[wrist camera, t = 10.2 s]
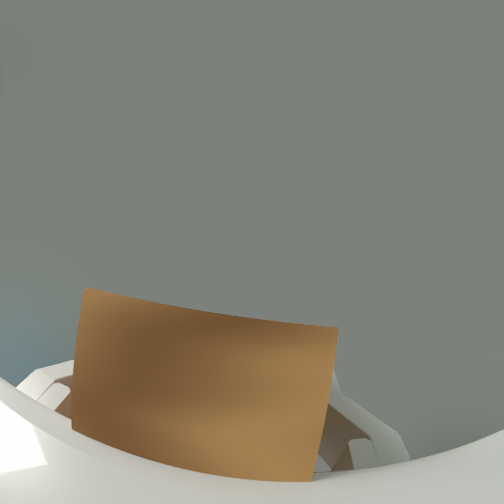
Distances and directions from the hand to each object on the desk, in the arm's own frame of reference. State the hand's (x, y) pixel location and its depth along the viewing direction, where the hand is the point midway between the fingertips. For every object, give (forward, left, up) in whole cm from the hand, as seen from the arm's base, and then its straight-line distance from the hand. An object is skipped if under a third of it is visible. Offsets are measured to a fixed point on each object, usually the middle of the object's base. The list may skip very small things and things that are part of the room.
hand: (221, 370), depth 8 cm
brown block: (0, +5, -2) cm, 5 cm away
